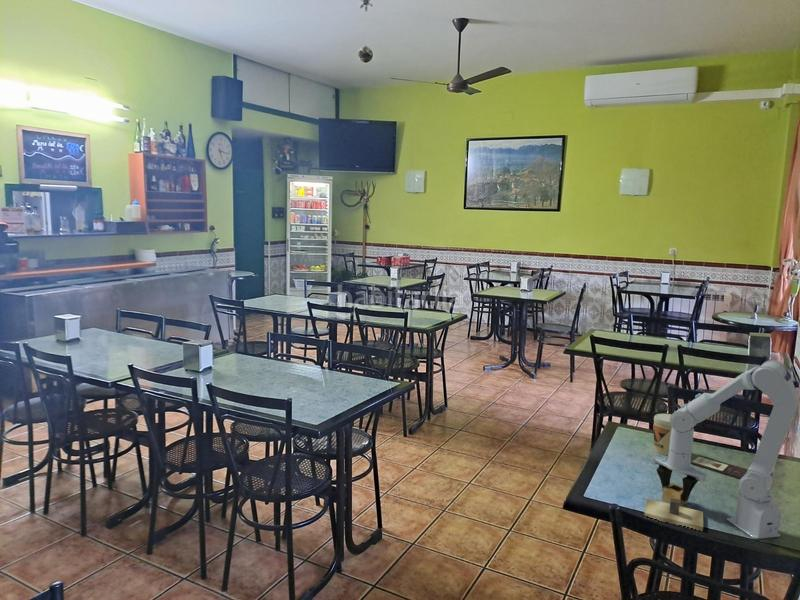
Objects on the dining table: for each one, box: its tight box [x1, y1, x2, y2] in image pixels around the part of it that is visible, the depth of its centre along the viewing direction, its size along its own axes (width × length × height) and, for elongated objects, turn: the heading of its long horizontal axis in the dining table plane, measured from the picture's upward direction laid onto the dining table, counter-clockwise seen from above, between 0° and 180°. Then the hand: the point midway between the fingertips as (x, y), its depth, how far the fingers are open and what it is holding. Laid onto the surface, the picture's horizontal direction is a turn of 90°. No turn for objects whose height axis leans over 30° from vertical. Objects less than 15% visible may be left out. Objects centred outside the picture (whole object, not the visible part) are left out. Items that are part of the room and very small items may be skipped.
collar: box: [661, 482, 689, 507], centre depth 164 cm, size 5×5×4 cm
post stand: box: [643, 498, 704, 532], centre depth 156 cm, size 14×9×4 cm, turn 63°
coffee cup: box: [652, 413, 672, 456], centre depth 200 cm, size 9×9×12 cm
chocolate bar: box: [690, 455, 749, 480], centre depth 187 cm, size 9×1×18 cm
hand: (675, 496), depth 164 cm, fingers closed on collar, 5 cm apart
